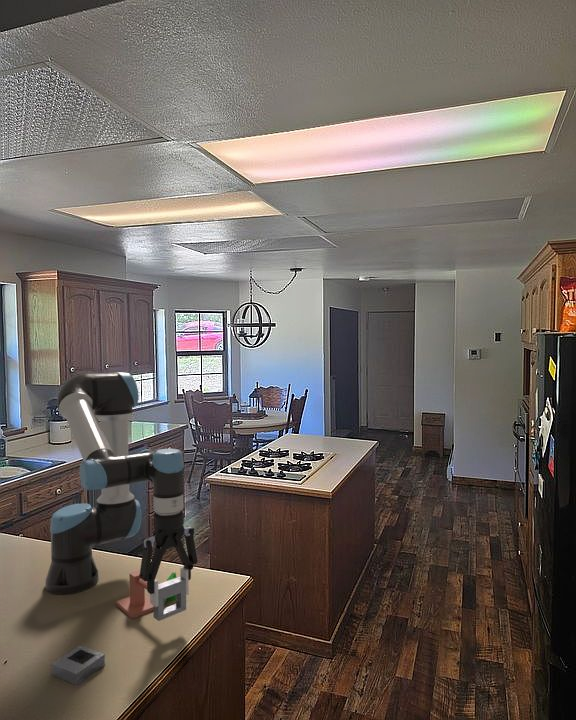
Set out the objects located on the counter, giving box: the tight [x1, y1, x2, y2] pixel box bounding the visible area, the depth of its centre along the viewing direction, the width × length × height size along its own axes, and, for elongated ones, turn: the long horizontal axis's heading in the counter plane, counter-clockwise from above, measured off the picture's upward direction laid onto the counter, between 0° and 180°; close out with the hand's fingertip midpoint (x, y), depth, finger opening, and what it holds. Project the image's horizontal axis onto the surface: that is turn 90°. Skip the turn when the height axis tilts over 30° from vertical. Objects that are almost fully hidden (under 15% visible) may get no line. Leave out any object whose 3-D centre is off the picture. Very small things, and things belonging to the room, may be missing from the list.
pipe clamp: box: [164, 572, 178, 604], centre depth 152 cm, size 11×4×5 cm, turn 174°
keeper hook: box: [115, 569, 165, 619], centre depth 142 cm, size 20×8×10 cm, turn 43°
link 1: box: [50, 644, 106, 686], centre depth 118 cm, size 8×8×2 cm
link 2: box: [153, 576, 187, 622], centre depth 133 cm, size 2×8×8 cm, turn 133°
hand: (169, 598), depth 133 cm, fingers closed on link 2, 8 cm apart
